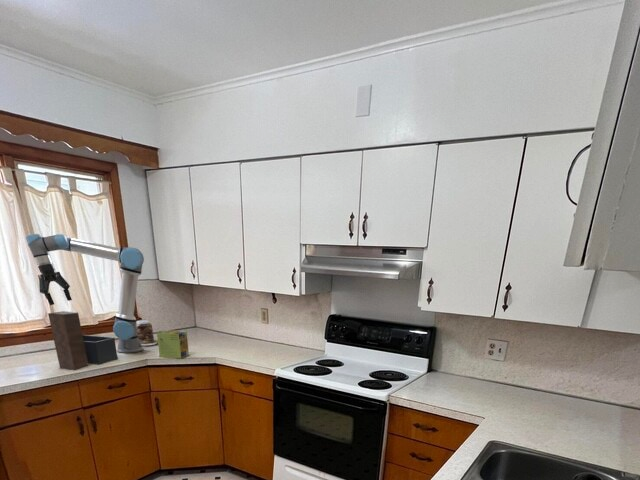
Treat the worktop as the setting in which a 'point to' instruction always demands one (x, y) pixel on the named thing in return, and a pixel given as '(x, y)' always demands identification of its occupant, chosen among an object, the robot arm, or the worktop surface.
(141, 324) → the jar
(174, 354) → the protein box
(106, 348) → the trash bin
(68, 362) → the stand
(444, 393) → the worktop surface
